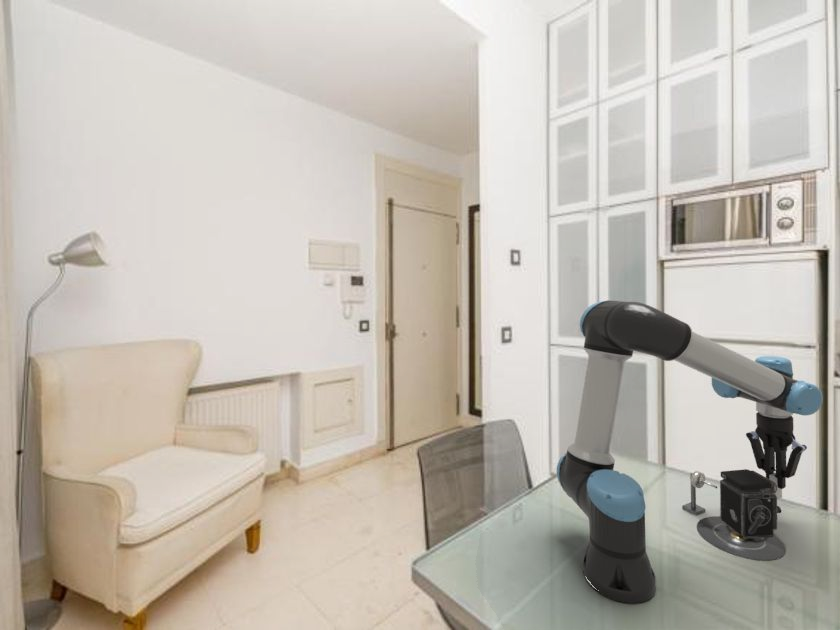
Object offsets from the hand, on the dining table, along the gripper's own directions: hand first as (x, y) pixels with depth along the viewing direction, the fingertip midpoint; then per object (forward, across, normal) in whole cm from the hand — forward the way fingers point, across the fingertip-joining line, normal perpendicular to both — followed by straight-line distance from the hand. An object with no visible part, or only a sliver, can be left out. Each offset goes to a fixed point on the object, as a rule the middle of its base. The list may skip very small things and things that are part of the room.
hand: (775, 497), depth 109 cm
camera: (+6, 0, +11) cm, 13 cm away
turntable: (+6, 0, +16) cm, 17 cm away
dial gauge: (+6, +11, +14) cm, 19 cm away
